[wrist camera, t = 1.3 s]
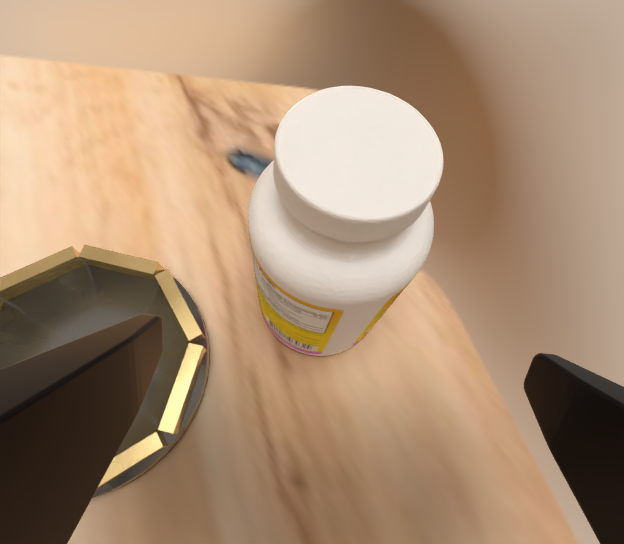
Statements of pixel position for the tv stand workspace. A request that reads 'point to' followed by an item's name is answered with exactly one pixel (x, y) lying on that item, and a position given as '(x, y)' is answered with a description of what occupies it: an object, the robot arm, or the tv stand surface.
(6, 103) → the tv stand surface
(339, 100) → the supplement bottle
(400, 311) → the tv stand surface
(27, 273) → the carrier plate
